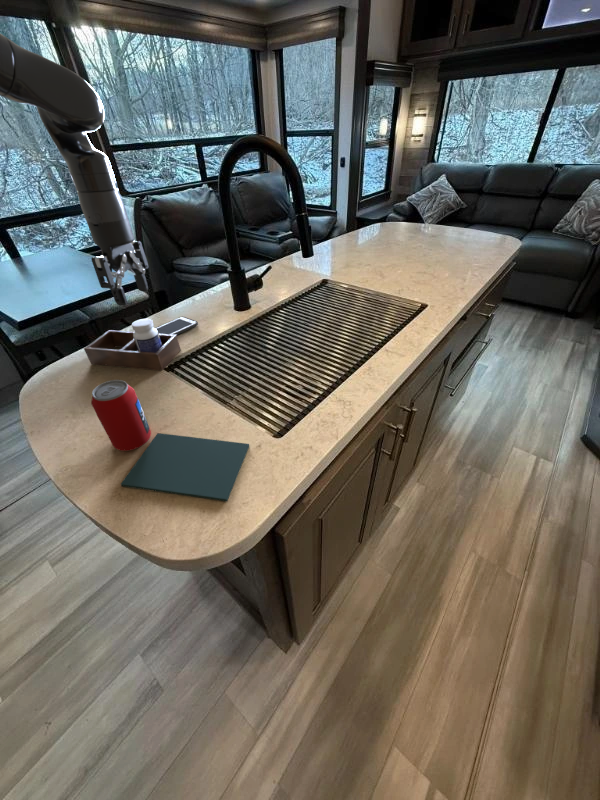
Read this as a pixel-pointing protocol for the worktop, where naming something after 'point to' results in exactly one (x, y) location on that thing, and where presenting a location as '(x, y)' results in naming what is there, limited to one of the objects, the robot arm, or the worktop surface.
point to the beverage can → (121, 414)
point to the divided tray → (131, 351)
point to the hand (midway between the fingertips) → (133, 297)
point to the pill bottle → (146, 336)
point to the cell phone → (176, 326)
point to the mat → (188, 467)
